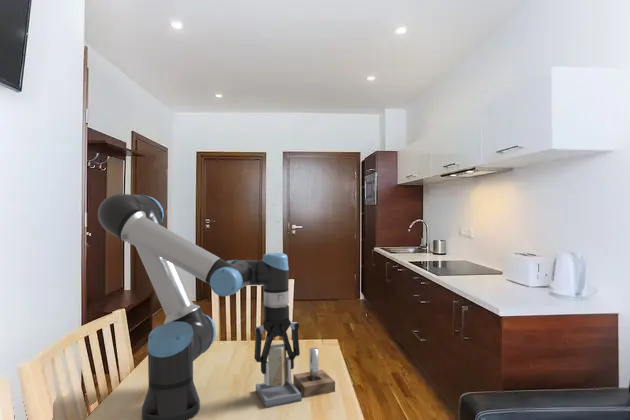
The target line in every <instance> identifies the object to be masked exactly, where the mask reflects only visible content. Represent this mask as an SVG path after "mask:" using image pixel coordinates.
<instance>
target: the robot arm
mask: <svg viewBox="0 0 630 420" xmlns="http://www.w3.org/2000/svg"><path fill="white" fill-rule="evenodd" d="M164 214H165V213H164V209H163V206H162V205H161V203H160V202H159V201H158V200H157V199H156V198H154V197H152V196H149V195H145V194H129V193H114V194H111V195H109V196H107V197H106V198H105V199H103V201H101V202H100V204H99V207H98V211H97V218H98V222H99V224H100V225H101V227H102V228H103V229H104V230H105V231H106V232H108V233H109V234H111V235H113V236H114V237H116V238H118V239H119V240H122V241H123V242H125V243H126V242H127V243H128V244H129V245H133V246H134V247H135V248H136V251H137V254H138V255H139V258H140V260H141V262H142V265H143V266H144V268H145V271H146V274H147V275H148V278H149V280H150V282H151V285H152V287H153V290H154V291H155V294H156V297H157V298H158V300H159V303H160V306H161V307H162V309H163V312H164V314H165V320H164V322H163V324H159V325H157V326H156V327H155V328H153V329H152V330H151V331H150V332H149V334H148V337H147V338H148V339H147V340H148V342H147V348H146V349H147V362H148V363H147V364H148V366H147V370H148V376H147V377H148V389H147V391H146V394H145V396H144V397H145V398H144V401H143V404H142V407H141V420H191V419H192V418H193V417H195V416H196V415H198V413H199V412H200V409H201V400H200V399H201V398H200V396H199V393H198V390H197V389H196V388H197V387H196V385H195V383H194V362H195V361H196V359H197V358H199V357H200V356H201V355H202V354H204V353H205V352H207V351H208V350H209V348H210V347H211V346H212V344H213V343H214V341H215V338H216V335H217V334H216V332H217V330H216V324H215V322H214V321H213V319H212V318H211V317H210V316H209V315H207V314H205V313H203V310H202V308H201V306H200V305H197V304H195V303H194V302H193V300H192V298H191V296H190V294H189V291H188V289H187V287H186V285H185V283H184V281H183V278H182V276H181V273H180V272H179V269H181V270H183V271H185V272H186V273H188V274H190V275H192V276H193V277H196V278H197V279H199V280H200V281H203V282H204V283H206V284H208V285H209V286H210V289H211V290H212V291H213V293H214V294H216V295H217V296H219V297H229V296H231V295H235V294H236V293H238V292H239V291H240V290H242V289H243V288H244V287H246V286H263V305H264V307H263V323H262V325H259V326H254V328H253V330H254V333H255V337H254V338H255V339H254V340H255V341H254V360H255V361H256V363H260V371H261V374H263V377H264V378H263V379H264V380H263V383H265V384H266V385H267V386H269V363H268V354H269V350H270V347H271V345H272V344H273V341H274V338H276V337H281V339H282V341H283V344H285V346H286V355H287V356H286V376H287V380H288V381H289V382H292V370H293V369H294V368H295V365H294V364H295V363H294V362H295V359H296V357H299V356H300V355H301V353H300V340H299V327H300V324H299V323H298V322H297V321H291V319H290V306H289V305H288V304H289V303H290V295H289V293H290V292H289V291H290V289H289V281H290V280H289V279H290V277H289V270H290V268H289V259H288V255H287V254H285V253H282V252H269V253H265V254H263V257H262V259H259V260H257V259H256V260H254V259H253V260H252V259H246V260H243V259H241V260H239V259H234V260H233V259H232V260H227V261H226V260H224V259H222V258H220V257H219V256H217V255H216V254H214V253H212V252H210V251H208V250H206V249H205V248H203V247H201V246H199V245H197V244H195V243H193V242H192V241H190V240H188V239H186V238H184V237H182V236H181V235H179V234H178V233H175V232H173V231H171V230H170V229H168V228H166V227H165V225H164V224H163V222H164V221H163V220H164V217H165V215H164ZM178 268H179V269H178ZM289 328H290V329H291V338H292V345H291V343H290V340H289V336H288V333H287V332H288V330H289ZM264 330H265V332H266V336H265V341H264V345H263V348H262V339H263V338H262V337H263V336H262V334H263V333H264Z"/></svg>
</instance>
